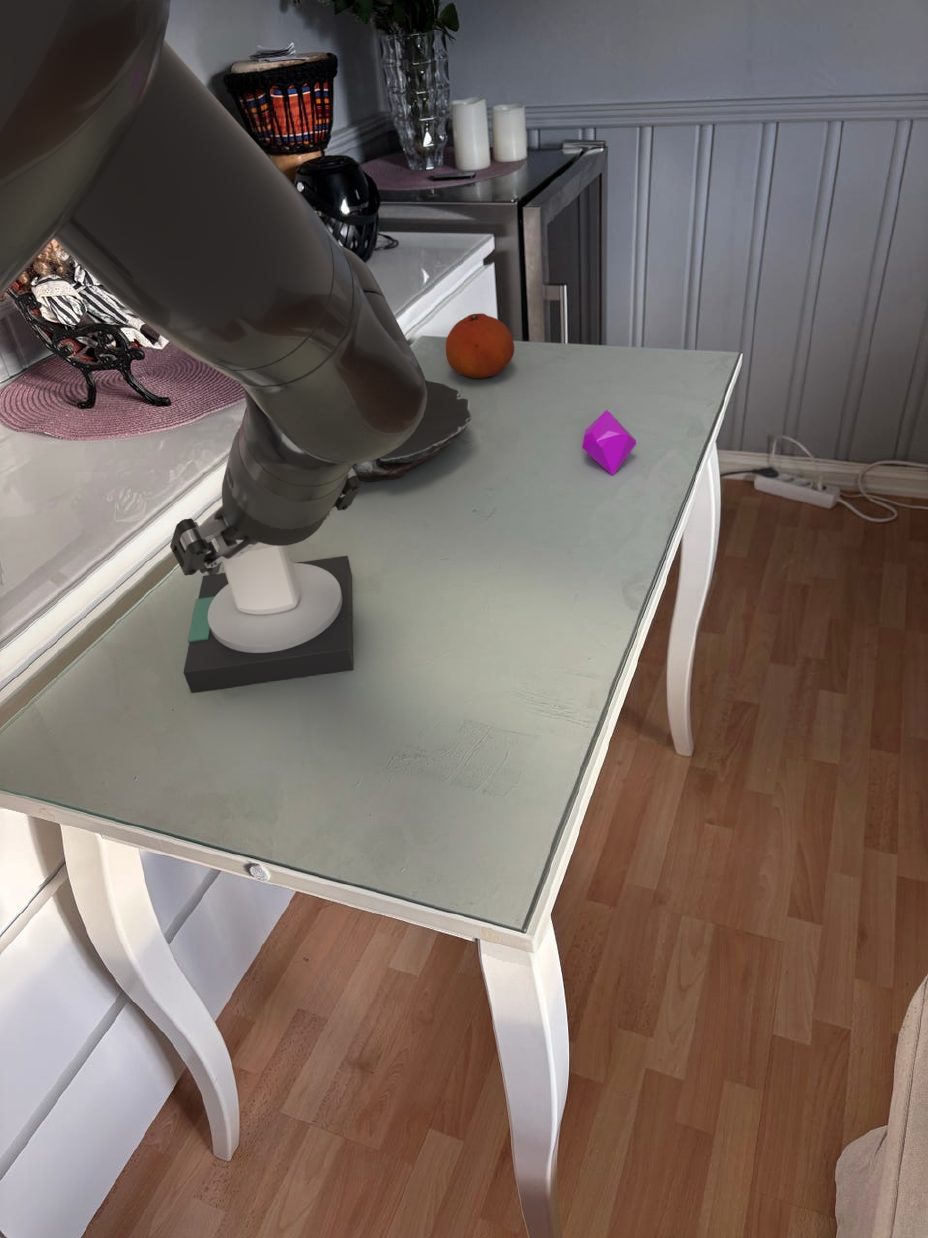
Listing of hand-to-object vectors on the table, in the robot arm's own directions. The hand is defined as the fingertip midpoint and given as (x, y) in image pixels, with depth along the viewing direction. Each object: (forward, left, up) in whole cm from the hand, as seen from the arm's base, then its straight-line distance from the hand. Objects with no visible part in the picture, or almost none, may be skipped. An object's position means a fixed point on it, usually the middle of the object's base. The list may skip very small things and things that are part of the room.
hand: (256, 543), depth 75 cm
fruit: (+24, +51, -11) cm, 57 cm away
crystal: (+35, +24, -11) cm, 44 cm away
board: (+10, +33, -11) cm, 36 cm away
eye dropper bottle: (-1, +2, -8) cm, 8 cm away
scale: (-1, +2, -11) cm, 11 cm away
